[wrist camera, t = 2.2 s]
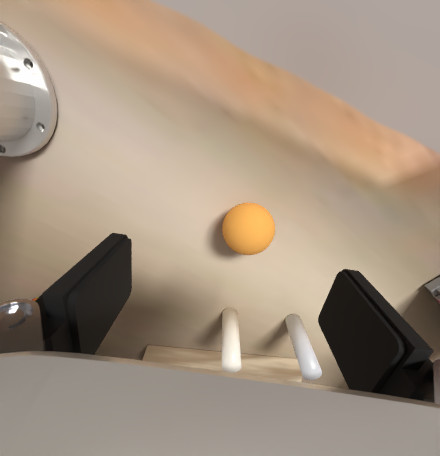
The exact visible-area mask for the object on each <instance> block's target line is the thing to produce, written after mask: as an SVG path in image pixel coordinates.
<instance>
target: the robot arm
mask: <svg viewBox="0 0 440 456" xmlns="http://www.w3.org/2000/svg"><path fill="white" fill-rule="evenodd" d="M56 121H57V102H56V96H55V92H54V88H53V85H52V83H51V80H50V78H49V75H48V73H47V71H46V69H45V68H44V66H43V64H42V62H41V61H40V59H39V58H38V56H37V55H36V54H35V52H34V51H33V50H32V49H31V47H30V46H29V45H28V44H27V43H26V42H25V41H24V40H23V39H22V38H21V37H20V36H19V35H18V34H16V33H15V32H14V31H12V30H11V29H10V28H8V27H7V26H6V25H4V24H2V23H0V156H7V157H16V156H24V155H28V154H32V153H34V152H36V151H38V150H40V149H41V148H42V147H43V146H44V145H45V144H47V143H48V141H49V140H50V138H51V136H52V135H53V132H54V129H55V126H56ZM131 288H132V271H131V239H128V237H127V235H123V234H117V233H112V234H110V235H109V236H108V237H107V238H106V239H105V240H103V241H102V242H101V243H100V244H99V245H98V246H97V247H95V248H94V249H93V250H92V251H91V252H90V253H88V254H87V255H86V256H85V257H84V258H83V259H82V260H80V261H79V262H78V263H77V264H76V265H75V266H73V267H72V268H71V269H70V270H69V271H68V272H67V273H65V274H64V275H63V276H62V277H61V278H60V279H58V280H57V281H56V282H55V283H54V284H53V285H52V286H50V287H49V288H48V289H47V290H46V291H45V292H43V293H42V295H41V296H40V297H39V298H38V299H36V300H35V301H34V300H30V299H14V300H8V301H5V302H1V303H0V456H440V359H438V360H435V361H434V362H433V363H432V362H431V361H430V359H429V356H430V355H431V354H432V352H433V350H432V349H431V348H430V347H429V345H428V344H427V343H426V342H425V341H424V340H423V339H422V338H421V337H420V336H419V335H418V334H417V333H416V332H415V330H414V329H413V328H412V327H411V326H410V325H409V324H408V323H407V322H406V321H405V320H404V319H403V318H402V317H401V316H400V314H399V313H398V312H397V311H396V310H395V309H394V308H393V307H392V306H391V305H390V304H389V303H388V302H387V301H386V300H385V298H384V297H383V296H382V295H381V294H380V293H379V292H378V291H377V290H376V289H375V288H374V287H373V286H372V285H371V283H370V282H369V281H368V280H367V279H366V278H365V277H364V276H363V275H362V274H361V273H360V272H359V271H354V270H348V269H344V270H342V271H341V272H339V273H338V274H337V276H336V278H335V281H334V283H333V285H332V287H331V290H330V292H329V294H328V296H327V299H326V301H325V303H324V305H323V308H322V310H321V312H320V315H319V318H318V322H319V325H320V327H321V330H322V332H323V334H324V336H325V338H326V340H327V342H328V344H329V347H330V349H331V351H332V353H333V355H334V357H335V359H336V362H337V364H338V366H339V368H340V370H341V372H342V374H343V376H344V379H345V381H346V383H347V385H348V387H349V389H343V388H336V387H329V386H322V385H316V384H309V383H302V382H295V381H288V380H280V379H273V378H266V377H259V376H252V375H245V374H238V373H230V372H223V371H216V370H209V369H201V368H194V367H186V366H179V365H171V364H164V363H156V362H149V361H141V360H134V359H125V358H117V357H108V356H100V355H94V354H95V352H96V350H97V349H98V347H99V346H100V344H101V342H102V341H103V339H104V337H105V336H106V334H107V332H108V331H109V329H110V327H111V326H112V324H113V322H114V321H115V319H116V317H117V316H118V314H119V312H120V311H121V309H122V308H123V306H124V304H125V303H126V301H127V299H128V298H129V296H130V293H131Z"/></svg>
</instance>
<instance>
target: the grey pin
mask: <svg viewBox="0 0 440 456" xmlns="http://www.w3.org/2000/svg"><path fill="white" fill-rule="evenodd" d="M285 323H286V326H287V329H288V332H289V335H290V338H291V341H292V345H293V348H294V351H295V354H296V357H297V360H298V364H299V367H300V370H301V373H302V376H303V378H305V379H307V380H315V379H317V378H319V377H320V376H321V375H322V371H321V368H320V366H319V363H318V361H317V358H316V356H315V353H314V351H313V348H312V346H311V343H310V341H309V338H308V336H307V333H306V331H305V329H304V326H303V324H302V321H301V319H300V317H299V316H298V315H296V314H291V315H288V316H287V317H286V319H285Z"/></svg>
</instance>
